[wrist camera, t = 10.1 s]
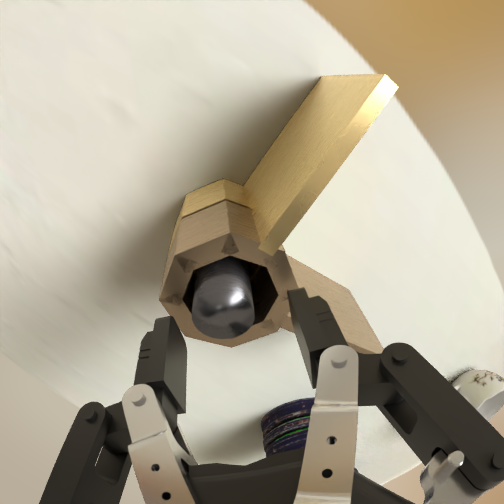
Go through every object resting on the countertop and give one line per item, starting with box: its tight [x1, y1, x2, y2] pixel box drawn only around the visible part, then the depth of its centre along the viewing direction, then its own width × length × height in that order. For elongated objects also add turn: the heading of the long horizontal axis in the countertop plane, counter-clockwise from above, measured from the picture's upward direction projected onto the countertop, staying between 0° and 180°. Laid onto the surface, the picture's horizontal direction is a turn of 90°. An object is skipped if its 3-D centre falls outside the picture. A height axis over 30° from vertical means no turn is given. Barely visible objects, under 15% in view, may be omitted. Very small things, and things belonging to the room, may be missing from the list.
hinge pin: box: [192, 255, 255, 339], centre depth 18 cm, size 3×3×9 cm
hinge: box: [159, 74, 398, 354], centre depth 18 cm, size 15×15×8 cm
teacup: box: [451, 370, 504, 421], centre depth 35 cm, size 15×12×8 cm
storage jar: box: [261, 398, 358, 472], centre depth 29 cm, size 10×10×15 cm
